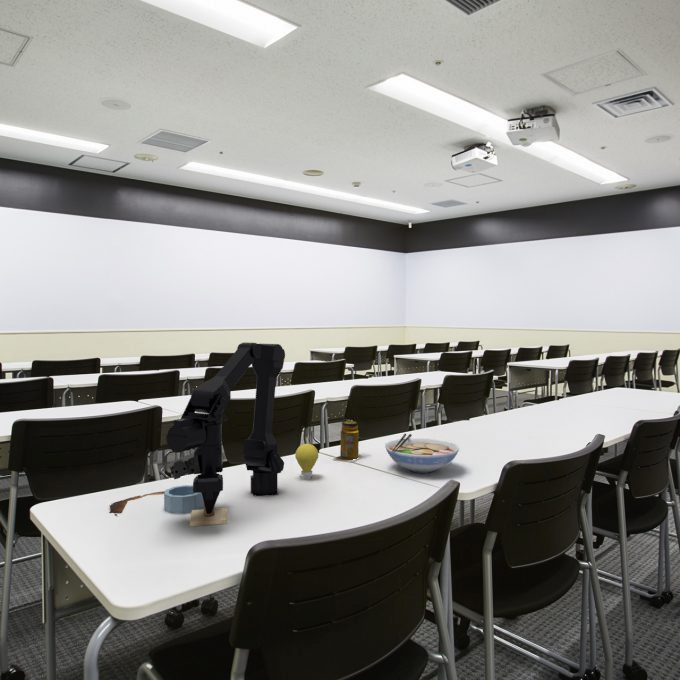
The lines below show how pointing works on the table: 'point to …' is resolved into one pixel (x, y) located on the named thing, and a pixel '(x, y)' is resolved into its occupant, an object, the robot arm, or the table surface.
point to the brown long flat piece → (120, 505)
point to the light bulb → (306, 459)
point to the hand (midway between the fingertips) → (209, 511)
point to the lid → (208, 517)
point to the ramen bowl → (421, 453)
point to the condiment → (349, 442)
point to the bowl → (182, 500)
